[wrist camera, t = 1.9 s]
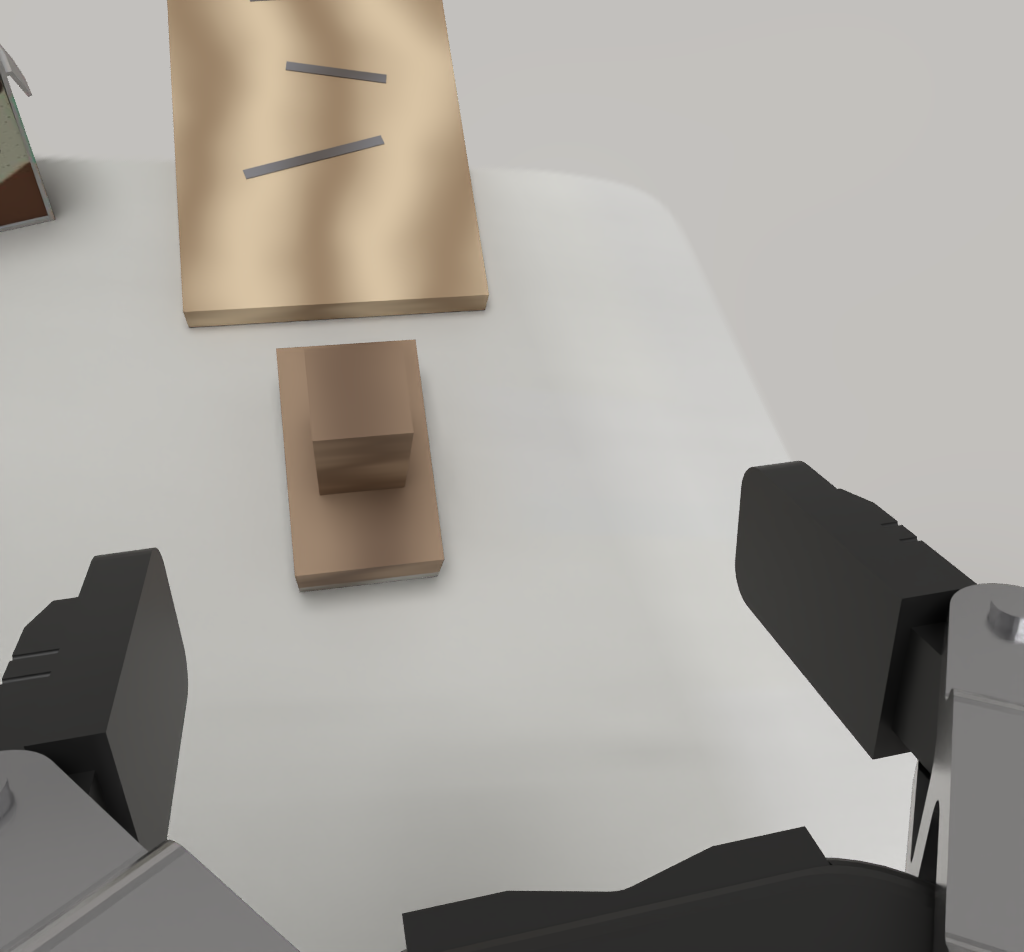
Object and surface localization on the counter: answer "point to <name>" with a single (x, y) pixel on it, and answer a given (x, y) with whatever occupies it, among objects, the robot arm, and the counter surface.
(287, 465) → the block
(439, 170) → the oak board
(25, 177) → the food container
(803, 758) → the counter surface
